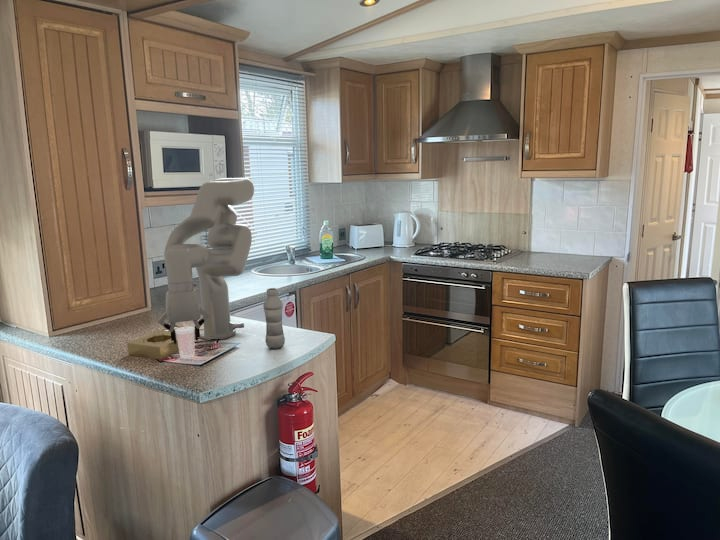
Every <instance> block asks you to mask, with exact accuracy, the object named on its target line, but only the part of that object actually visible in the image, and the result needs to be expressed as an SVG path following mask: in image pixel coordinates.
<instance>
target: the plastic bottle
mask: <svg viewBox="0 0 720 540" xmlns="http://www.w3.org/2000/svg"><path fill="white" fill-rule="evenodd" d="M278 289H279V288H276V287H271V288H267V289H266V296H267V297H266V298H265V299H264V302H263V310H264V311H263V312H264V317H265V323H266V325H265V327H266V330H265V331H266V332H265V345H266V346H267V347H268V349H279V348H282V347H284V345H285V343H286V342H285V341H286V337H285V333H284V329H283V328H284V327H283V308H284V307H283V305H284V304H283V301H282V300H281V298H280V297H279V296H278V295H279V290H278Z"/></svg>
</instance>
